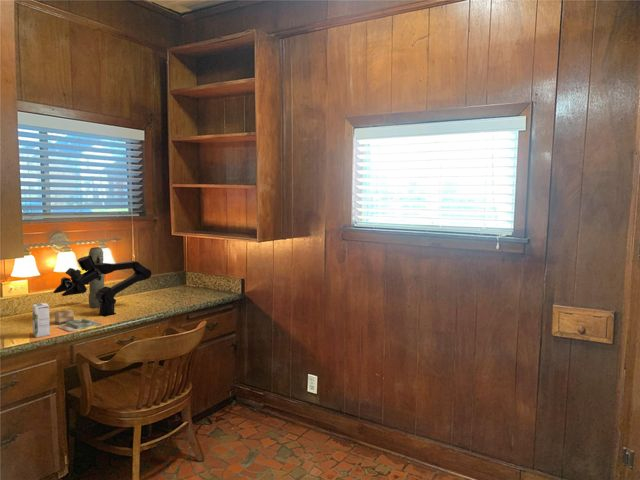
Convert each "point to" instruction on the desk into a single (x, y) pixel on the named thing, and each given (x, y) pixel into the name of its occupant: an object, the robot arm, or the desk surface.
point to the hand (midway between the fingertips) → (57, 293)
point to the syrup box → (41, 320)
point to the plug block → (64, 317)
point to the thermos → (95, 284)
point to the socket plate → (79, 325)
